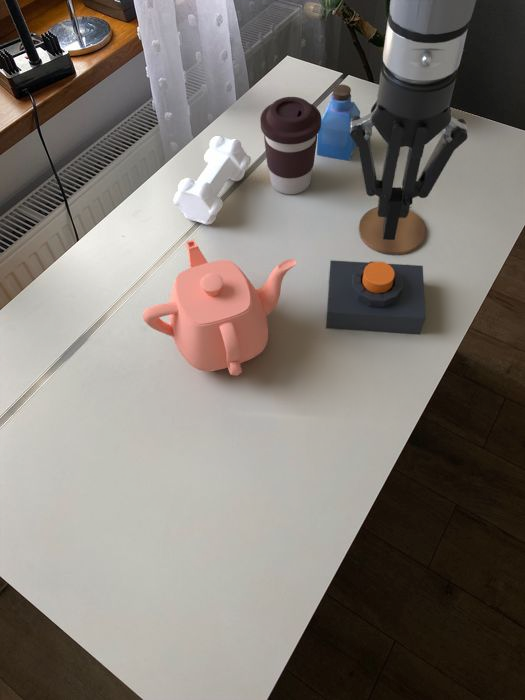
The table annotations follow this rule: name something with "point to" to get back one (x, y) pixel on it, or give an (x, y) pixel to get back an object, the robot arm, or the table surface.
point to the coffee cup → (290, 142)
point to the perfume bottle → (337, 125)
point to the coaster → (405, 239)
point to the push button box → (375, 300)
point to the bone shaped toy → (212, 180)
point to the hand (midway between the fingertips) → (388, 232)
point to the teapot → (217, 312)
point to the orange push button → (378, 277)
